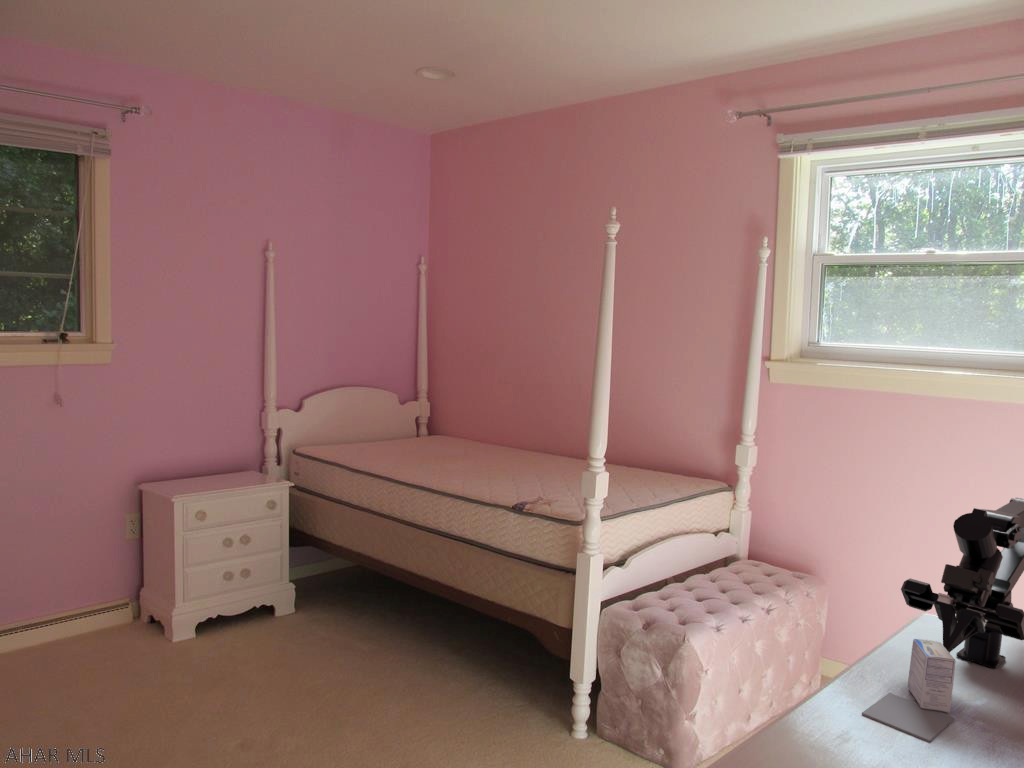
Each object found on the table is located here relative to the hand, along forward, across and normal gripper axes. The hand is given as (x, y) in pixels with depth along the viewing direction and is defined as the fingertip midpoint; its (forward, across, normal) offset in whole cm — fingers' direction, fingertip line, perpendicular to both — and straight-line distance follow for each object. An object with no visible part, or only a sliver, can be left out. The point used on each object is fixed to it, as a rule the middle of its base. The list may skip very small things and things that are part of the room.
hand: (945, 650), depth 137 cm
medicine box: (+9, 0, +1) cm, 9 cm away
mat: (+15, 0, -5) cm, 15 cm away
